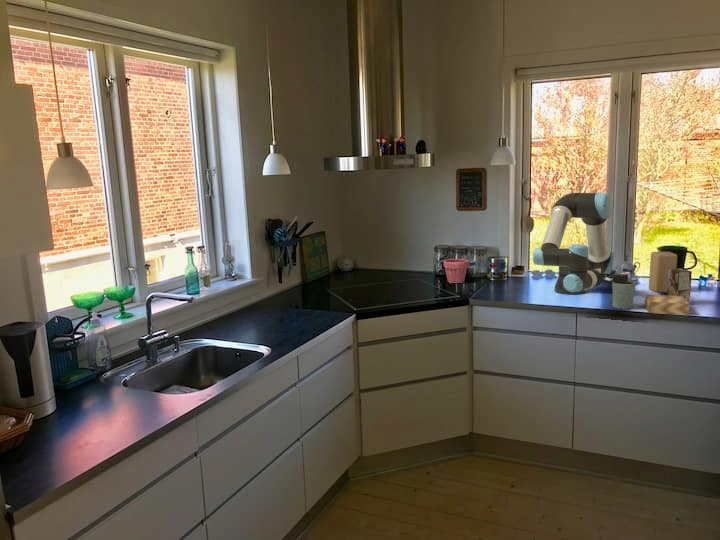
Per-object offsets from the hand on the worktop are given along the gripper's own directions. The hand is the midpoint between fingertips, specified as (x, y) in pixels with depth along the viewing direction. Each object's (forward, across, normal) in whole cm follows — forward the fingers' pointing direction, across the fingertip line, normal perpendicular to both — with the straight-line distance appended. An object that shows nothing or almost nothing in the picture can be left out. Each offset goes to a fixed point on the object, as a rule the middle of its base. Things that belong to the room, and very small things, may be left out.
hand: (614, 273), depth 271 cm
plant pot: (+1, -94, -17) cm, 96 cm away
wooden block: (+57, -3, -17) cm, 60 cm away
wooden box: (+18, +16, -17) cm, 30 cm away
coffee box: (+36, +14, -17) cm, 42 cm away
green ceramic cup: (+10, 0, -18) cm, 20 cm away
